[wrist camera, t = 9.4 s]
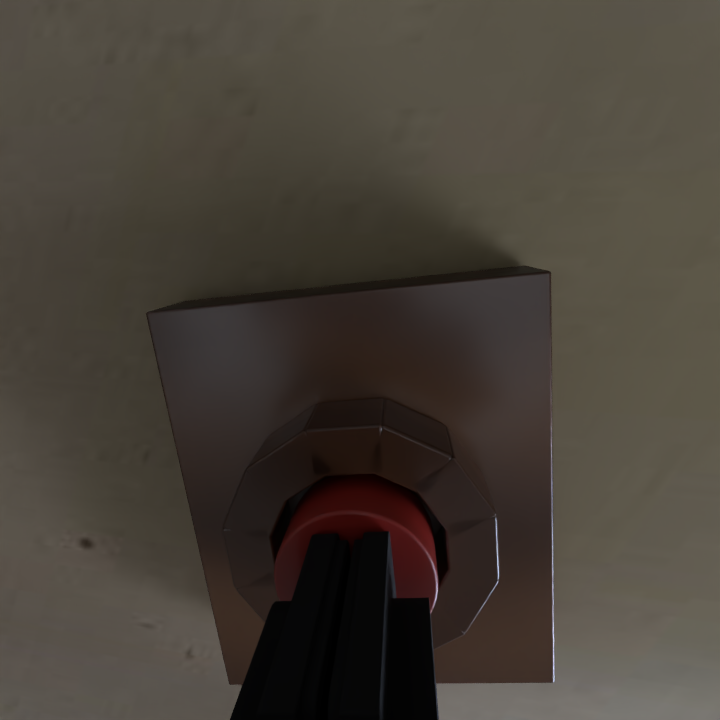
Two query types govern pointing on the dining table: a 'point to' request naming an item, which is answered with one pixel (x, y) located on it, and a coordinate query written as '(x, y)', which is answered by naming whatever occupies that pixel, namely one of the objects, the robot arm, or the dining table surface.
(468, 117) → the dining table surface
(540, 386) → the block
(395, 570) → the stop button
